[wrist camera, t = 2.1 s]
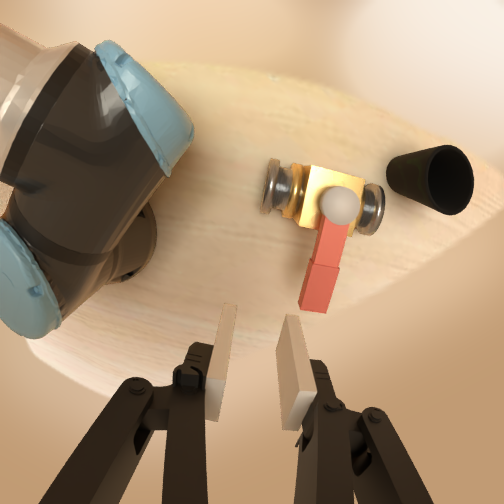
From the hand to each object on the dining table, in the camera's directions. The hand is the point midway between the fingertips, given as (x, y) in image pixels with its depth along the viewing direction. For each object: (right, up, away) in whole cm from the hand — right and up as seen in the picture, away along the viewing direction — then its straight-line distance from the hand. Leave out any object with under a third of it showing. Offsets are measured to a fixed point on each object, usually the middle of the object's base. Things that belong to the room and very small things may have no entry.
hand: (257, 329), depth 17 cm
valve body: (+8, +12, +20) cm, 25 cm away
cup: (+21, +16, +19) cm, 32 cm away
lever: (+7, +5, +12) cm, 15 cm away
